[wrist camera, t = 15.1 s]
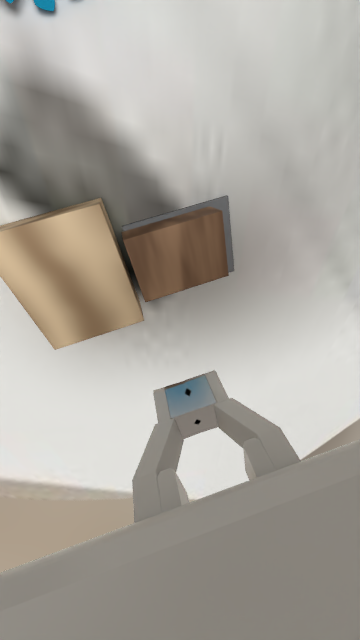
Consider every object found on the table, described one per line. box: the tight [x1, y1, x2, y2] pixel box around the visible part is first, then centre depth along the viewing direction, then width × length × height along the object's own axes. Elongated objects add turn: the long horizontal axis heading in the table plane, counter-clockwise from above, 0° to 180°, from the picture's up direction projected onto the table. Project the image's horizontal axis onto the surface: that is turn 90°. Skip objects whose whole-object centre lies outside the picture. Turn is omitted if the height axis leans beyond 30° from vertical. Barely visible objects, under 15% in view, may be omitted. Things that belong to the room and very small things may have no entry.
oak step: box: [0, 198, 144, 350], centre depth 24 cm, size 10×12×5 cm
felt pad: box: [122, 196, 234, 273], centre depth 27 cm, size 12×9×1 cm
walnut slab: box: [122, 206, 229, 302], centre depth 25 cm, size 4×7×10 cm
